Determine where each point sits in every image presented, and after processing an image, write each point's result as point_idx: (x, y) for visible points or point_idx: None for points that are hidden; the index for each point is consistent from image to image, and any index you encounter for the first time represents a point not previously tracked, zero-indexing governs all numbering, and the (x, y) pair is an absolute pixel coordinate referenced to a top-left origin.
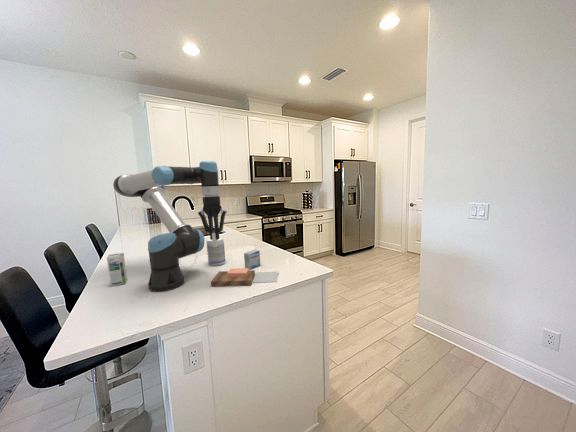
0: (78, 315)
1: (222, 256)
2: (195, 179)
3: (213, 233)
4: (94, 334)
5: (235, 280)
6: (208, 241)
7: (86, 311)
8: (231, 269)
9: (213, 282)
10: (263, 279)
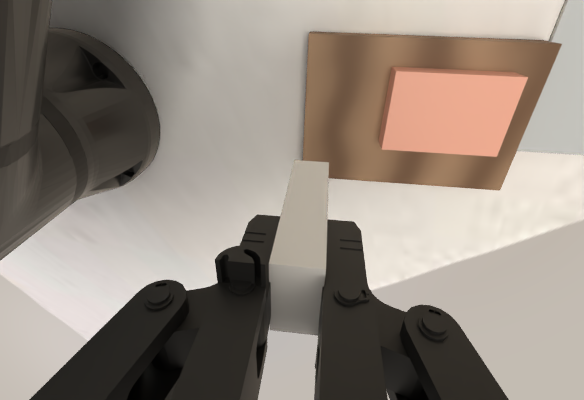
0: (9, 274)
1: None
2: None
3: (295, 332)
4: None
5: (423, 180)
6: None
7: (6, 260)
8: (404, 87)
9: None
10: (573, 124)
